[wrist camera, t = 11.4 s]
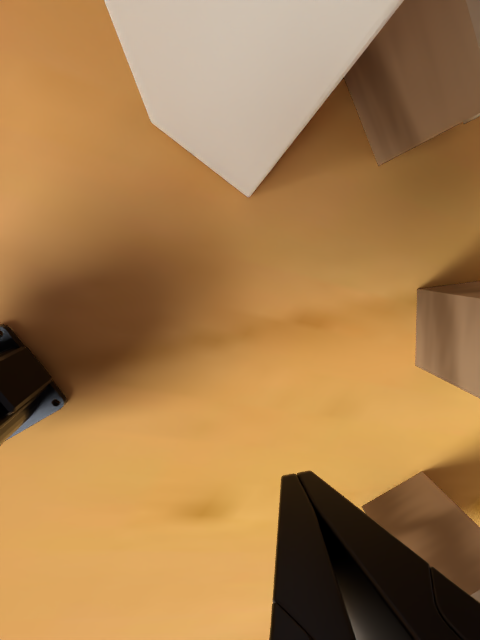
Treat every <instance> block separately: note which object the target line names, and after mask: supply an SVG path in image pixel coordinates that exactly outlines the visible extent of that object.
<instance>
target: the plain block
mask: <svg viewBox="0 0 480 640" xmlns="http://www.w3.org/2000/svg"><path fill="white" fill-rule="evenodd" d="M415 366H417V367H419V368H421V369H423V370H425V371H427V372H429V373H431V374H433V375H435V376H437V377H439V378H441V379H443V380H445V381H447V382H449V383H451V384H453V385H455V386H457V387H459V388H461V389H462V390H464V391H466V392H468V393H470V394H472V395H474V396H476V397H478V398H480V281H475V282H467V283H460V284H452V285H445V286H437V287H430V288H422V289H417V319H416V359H415Z"/></svg>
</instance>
